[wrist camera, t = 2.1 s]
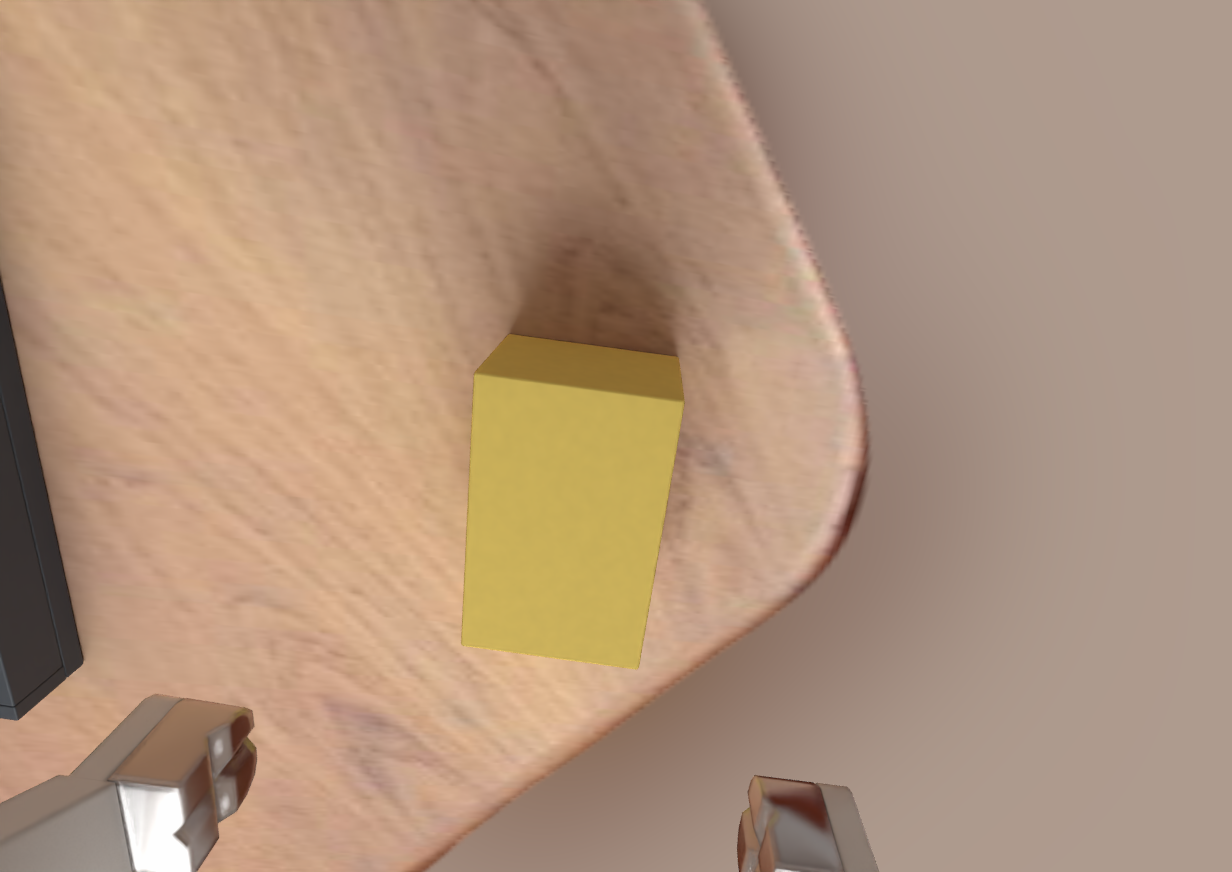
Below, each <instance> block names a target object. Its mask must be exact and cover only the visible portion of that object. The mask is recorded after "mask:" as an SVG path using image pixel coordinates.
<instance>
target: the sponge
mask: <svg viewBox="0 0 1232 872" xmlns="http://www.w3.org/2000/svg"><path fill="white" fill-rule="evenodd" d="M684 404H685V401H684V393H683V386H682V378H681V371H680V363H679V358H678V357H675V356H668V355H660V354H653V353H646V352H638V351H631V350H624V349H616V348H609V347H602V346H594V345H587V344H580V343H572V342H565V341H557V340H550V339H543V338H535V337H528V336H521V335H513V334H508V335H507V336H506V337H505V339H504V340H503V341H502V342H501V343H500V344H499V345H498V346H497V348H496V349H495V350H494V351H493V352H492V353H491V354H490V356H489V357H488V358H487V359H486V360H485V361H484V362H483V363H482V365H481V366H480V367H479V368H478V369H477V370H476V371H475V373H474V383H473V404H472V425H471V446H470V467H469V488H468V509H467V530H466V551H465V573H464V594H463V615H462V636H461V644H462V645H463V646H468V647H476V648H483V649H490V650H497V651H505V652H512V653H519V654H527V655H534V656H541V657H549V658H556V659H563V660H570V661H578V662H585V663H592V664H600V665H607V666H614V667H622V668H629V669H638V668H639V664H640V658H641V652H642V646H643V641H644V635H645V629H646V623H647V617H648V612H649V606H650V600H651V594H652V589H653V583H654V577H655V571H656V566H657V560H658V554H659V548H660V542H661V537H662V531H663V525H664V519H665V514H666V508H667V502H668V496H669V491H670V485H671V479H672V473H673V468H674V462H675V456H676V450H677V444H678V439H679V433H680V427H681V421H682V416H683V410H684Z"/></svg>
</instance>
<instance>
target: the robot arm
mask: <svg viewBox="0 0 1232 872" xmlns="http://www.w3.org/2000/svg"><path fill="white" fill-rule="evenodd" d="M253 728H254V720H253V713H252V710H250V709H248V708H245V707H239V706H232V705H226V704H220V703H214V702H208V701H202V700H195V699H189V698H180V697H173V696H167V695H161V694H154V695H152V696H150V697H148V698H146V699H144V700H143V701H142V702H141V703H140V704H139V705H138V706H137V707H136V708H135V709H134V710H133V711H132V712H131V713H130V714H129V715H128V716H127V717H126V718H125V719H124V720H123V721H122V722H121V723H120V724H119V725H118V726H117V727H116V728H115V729H114V730H113V732H112V733H111V734H110V735H109V736H108V737H107V738H106V739H105V740H104V741H103V742H102V743H101V744H100V745H99V746H98V747H97V748H96V749H95V750H94V751H93V752H92V753H91V754H90V755H89V756H88V757H87V758H86V759H85V760H84V761H83V762H82V763H81V764H80V765H79V766H78V767H77V768H76V769H75V770H74V771H73V772H72V773H71V774H70V775H69V776H64V775H58V776H56V777H54V778H51V779H49V780H47V781H45V782H43V783H41V784H39V785H37V786H35V787H33V788H31V789H29V790H27V791H25V792H23V793H21V794H18V795H16V796H14V797H12V798H10V799H8V800H6V801H4V802H2V803H0V872H197V871H198V869H199V868H200V866H201V865H202V863H203V862H204V860H205V859H206V857H207V855H208V854H209V852H210V851H211V849H212V848H213V846H214V845H215V843H216V842H217V840H218V839H219V831H218V823H219V822H221V821H222V820H224V819H225V818H227V817H228V816H230V815H232V814H233V813H235V812H236V811H237V810H238V808H239V807H240V805H241V803H242V802H243V800H244V799H245V797H246V795H247V793H248V791H249V788H250V786H251V783H252V781H253V778H254V776H255V770H256V764H257V751H256V747H255V746H254V744H253V743H252V742H251V741H250V740H249V739H248V737H247V736H248V735H249V733H250V732H251V730H252V729H253ZM748 798H749V803H750V807H749V808H748V809H747V810H745V811H744V812H742V816H741V820H740V824H739V830H738V842H737V858H738V868H739V872H879V870H878V867H877V864H876V861H875V858H874V855H873V852H872V850H871V846H870V844H869V841H868V838H867V835H866V832H865V829H864V826H863V823H862V820H861V818H860V815H859V812H858V809H857V805H856V803H855V800H854V797H853V794H852V792H851V791H850V789H849V788H848V787H845V786H837V785H829V784H821V783H813V782H807V781H799V780H791V779H782V778H774V777H766V776H757V775H754V777H753V779H752V780H751V782H750V786H749V790H748Z"/></svg>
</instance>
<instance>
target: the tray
mask: <svg viewBox="0 0 1232 872" xmlns="http://www.w3.org/2000/svg"><path fill="white" fill-rule="evenodd" d="M82 664H83V659H82V654H81V649H80V645H79V640H78V636H77V631H76V626H75V622H74V617H73V613H72V608H71V603H70V599H69V594H68V590H67V585H66V580H65V576H64V571H63V567H62V562H61V557H60V553H59V548H58V544H57V539H56V534H55V530H54V525H53V521H52V516H51V511H50V507H49V502H48V498H47V493H46V488H45V484H44V479H43V475H42V470H41V465H40V461H39V456H38V451H37V447H36V442H35V438H34V433H33V428H32V424H31V419H30V415H29V410H28V405H27V401H26V396H25V392H24V387H23V382H22V378H21V373H20V369H19V364H18V359H17V355H16V350H15V346H14V341H13V336H12V332H11V327H10V323H9V318H8V313H7V309H6V304H5V300H4V295H3V290H2V286H1V281H0V718H3V719H10V720H19V719H20V718H22V717H23V716H24V715H25V714H26V713H27V712H28V711H30V710H31V709H32V708H33V707H34V706H35V705H37V704H38V703H39V702H40V701H41V700H42V699H43V698H45V697H46V696H47V695H48V694H49V693H50V692H52V691H53V690H54V689H55V688H56V687H57V686H58V685H60V684H61V683H62V682H63V681H64V680H65V679H66V678H67V677H69V676H70V675H71V674H72V673H73V672H74V671H76V670H77V669H78V668H79V667H80V666H81V665H82Z"/></svg>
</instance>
